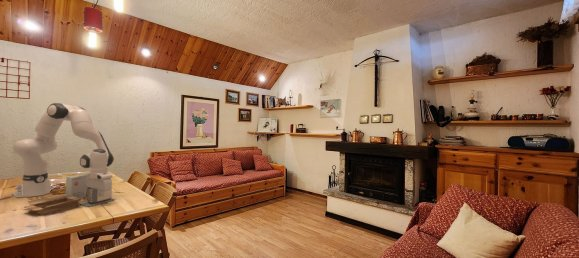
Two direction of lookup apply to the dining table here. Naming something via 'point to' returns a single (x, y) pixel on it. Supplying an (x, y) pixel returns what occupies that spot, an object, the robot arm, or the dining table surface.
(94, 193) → the box
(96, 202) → the felt mat
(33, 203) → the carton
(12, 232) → the dining table surface
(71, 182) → the skincare box
